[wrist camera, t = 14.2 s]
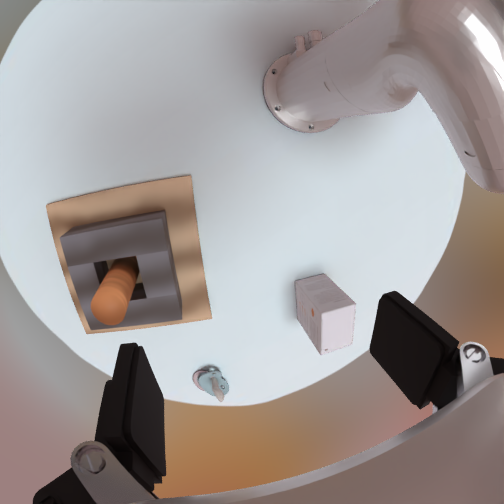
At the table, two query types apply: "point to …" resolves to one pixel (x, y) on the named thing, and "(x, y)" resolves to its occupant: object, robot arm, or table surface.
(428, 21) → the robot arm
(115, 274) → the peg
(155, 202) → the socket
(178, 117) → the table surface
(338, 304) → the small box
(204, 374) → the pacifier
